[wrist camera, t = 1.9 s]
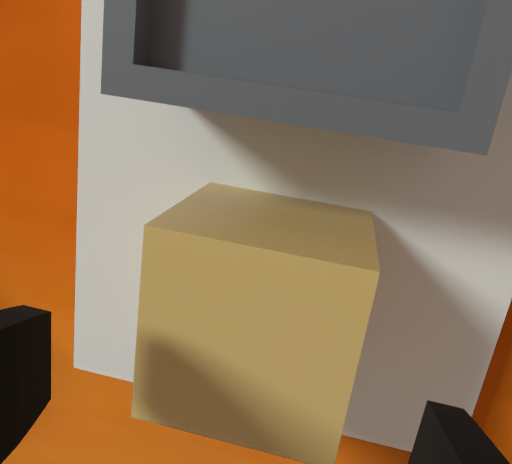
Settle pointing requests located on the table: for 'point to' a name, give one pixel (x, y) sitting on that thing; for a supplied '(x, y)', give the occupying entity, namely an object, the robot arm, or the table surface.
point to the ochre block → (254, 319)
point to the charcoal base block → (320, 63)
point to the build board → (315, 189)
